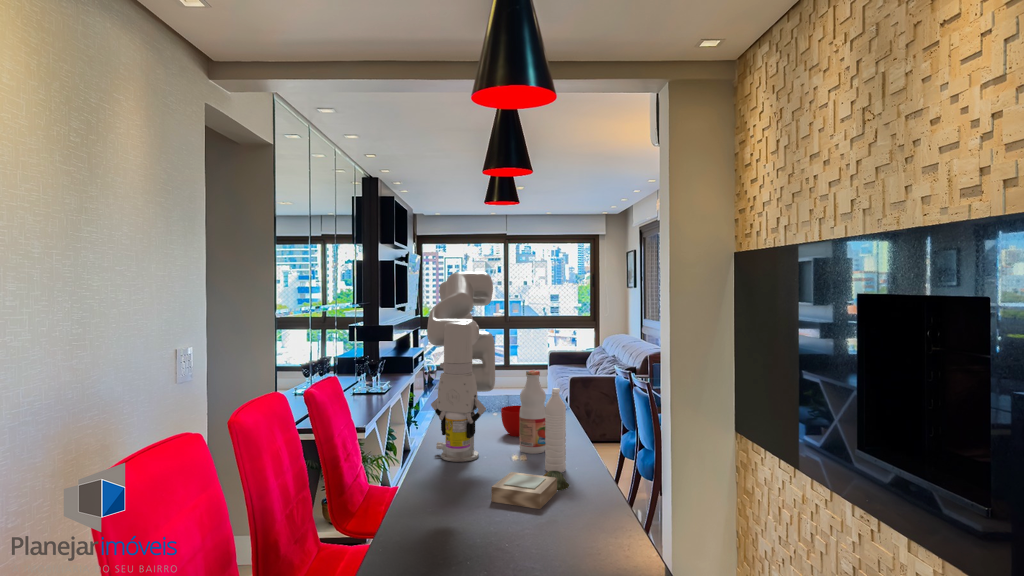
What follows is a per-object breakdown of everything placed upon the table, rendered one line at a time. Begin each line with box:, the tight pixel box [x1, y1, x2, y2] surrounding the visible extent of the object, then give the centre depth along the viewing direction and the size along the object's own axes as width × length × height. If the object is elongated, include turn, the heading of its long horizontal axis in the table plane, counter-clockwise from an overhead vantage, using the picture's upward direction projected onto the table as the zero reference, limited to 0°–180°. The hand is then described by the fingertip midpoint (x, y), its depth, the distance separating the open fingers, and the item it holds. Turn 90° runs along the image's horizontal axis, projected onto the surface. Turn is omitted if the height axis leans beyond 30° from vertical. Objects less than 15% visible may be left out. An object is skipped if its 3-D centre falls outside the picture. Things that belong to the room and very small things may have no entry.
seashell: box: [542, 471, 570, 491], centre depth 177 cm, size 10×4×10 cm
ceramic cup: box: [500, 405, 521, 438], centre depth 237 cm, size 13×17×10 cm
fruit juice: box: [519, 369, 547, 455], centre depth 213 cm, size 9×9×28 cm
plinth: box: [490, 471, 558, 510], centre depth 167 cm, size 14×14×4 cm
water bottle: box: [544, 387, 567, 473], centre depth 192 cm, size 9×6×25 cm
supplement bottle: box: [445, 412, 471, 452], centre depth 160 cm, size 7×7×13 cm
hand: (458, 434), depth 160 cm, fingers closed on supplement bottle, 6 cm apart
